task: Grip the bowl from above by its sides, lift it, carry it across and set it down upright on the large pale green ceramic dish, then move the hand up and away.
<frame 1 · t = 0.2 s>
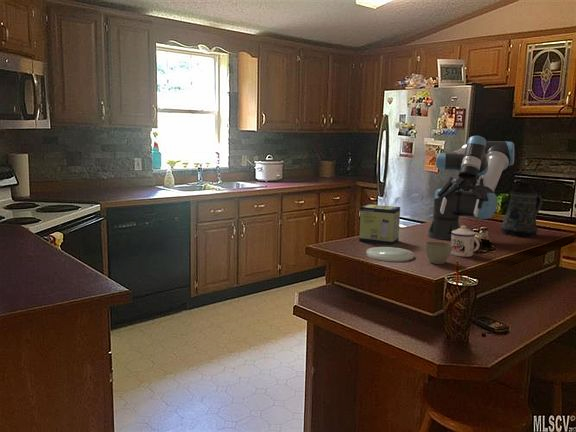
hand: (458, 213, 203), 16 cm above the table, tool tilted 35°, fingers open, 13 cm apart
beer stein: (519, 234, 249), on the table
teacup with lid: (464, 255, 201), on the table
dish: (389, 255, 197), on the table
protein box: (378, 241, 224), on the table
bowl: (437, 263, 188), on the table
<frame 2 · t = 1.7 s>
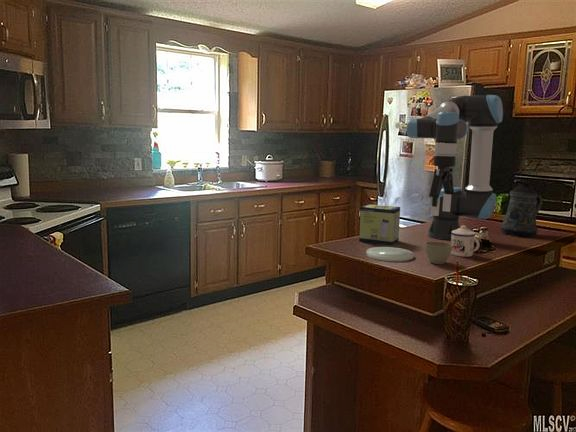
hand: (440, 213, 185), 19 cm above the table, tool pointing down, fingers open, 13 cm apart
nothing on the table moved.
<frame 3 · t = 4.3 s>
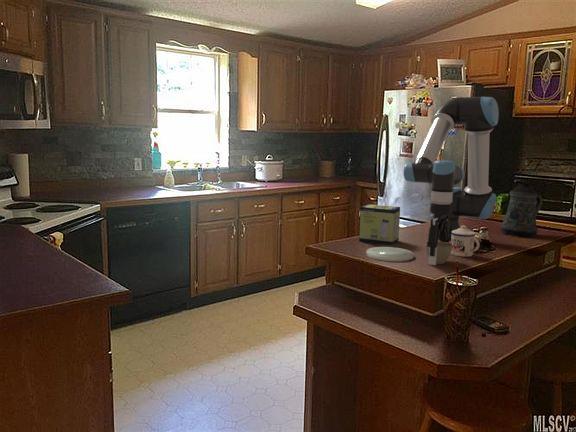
hand: (436, 261, 188), 0 cm above the table, tool pointing down, fingers closed on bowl, 10 cm apart
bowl: (437, 263, 188), on the table, touching gripper
everything else where it was.
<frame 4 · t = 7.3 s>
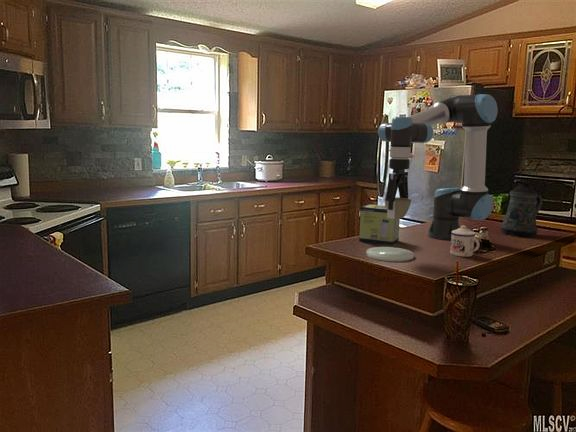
hand: (396, 216, 193), 16 cm above the table, tool pointing down, fingers closed on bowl, 10 cm apart
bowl: (396, 217, 193), point 15 cm above the table, touching gripper
everything else where it was.
when the fingers open (4 cm above the table, at t = 10.7 s): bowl drops 2 cm, resting on dish.
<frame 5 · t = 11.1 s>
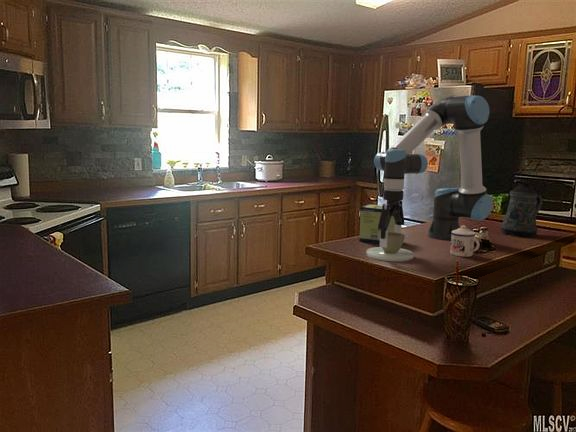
hand: (390, 244, 196), 5 cm above the table, tool pointing down, fingers open, 13 cm apart
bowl: (390, 252, 196), point 1 cm above the table, touching dish
everything else where it was.
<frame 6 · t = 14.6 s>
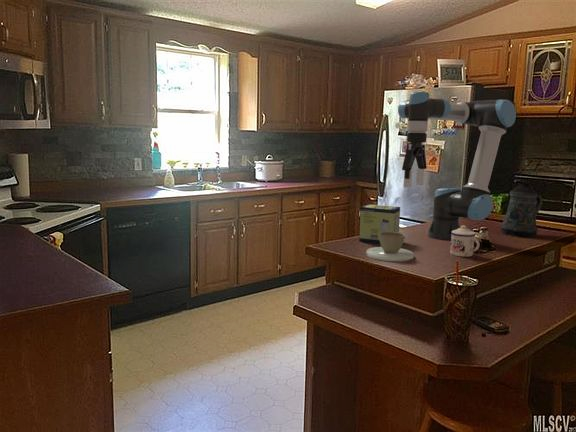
hand: (413, 186, 201), 27 cm above the table, tool pointing down, fingers open, 13 cm apart
nothing on the table moved.
at the end: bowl inside the target area on the dish (0.4 cm from its centre), point 1.3 cm above the dish's base; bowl tilted 0°; the gripper is holding nothing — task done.
